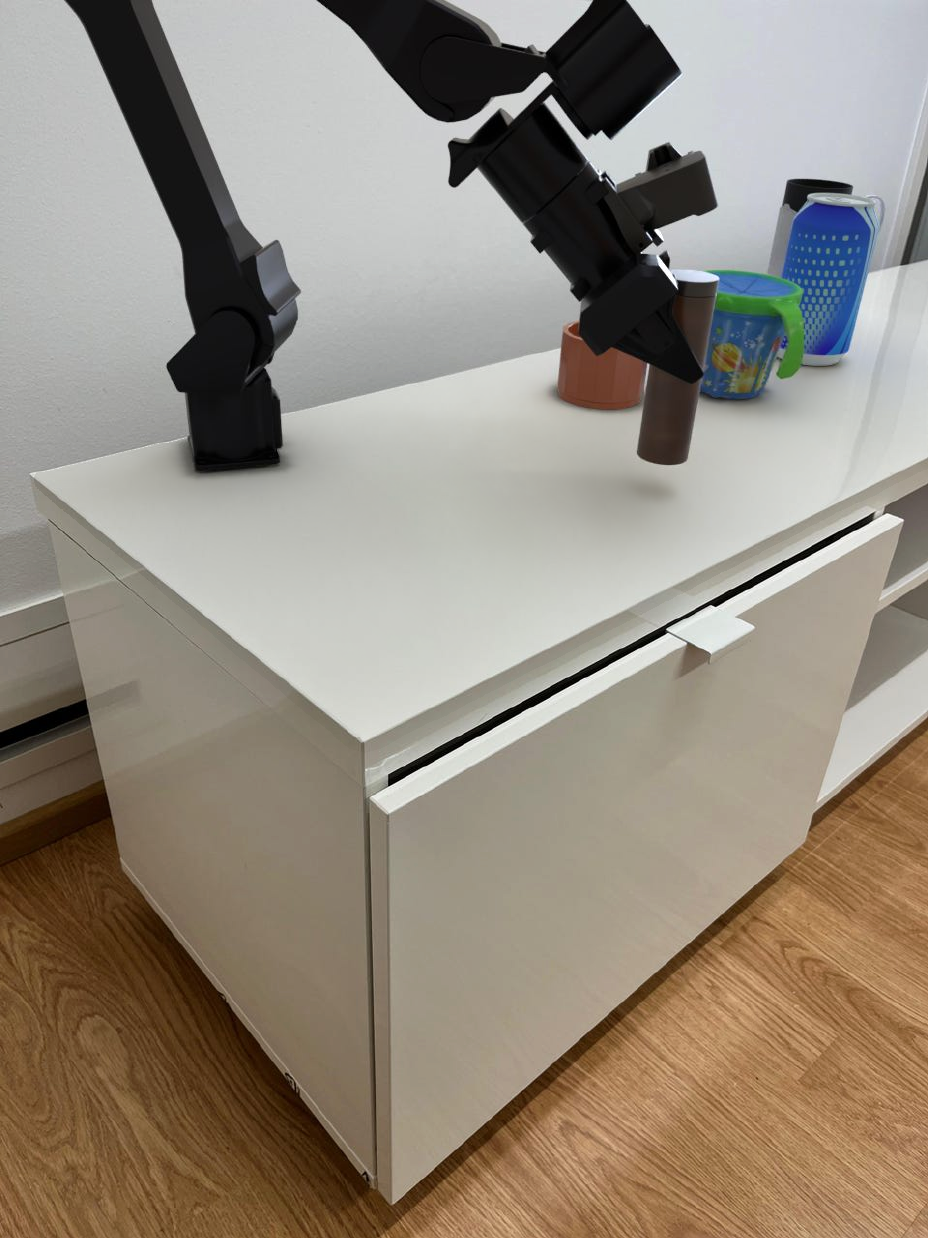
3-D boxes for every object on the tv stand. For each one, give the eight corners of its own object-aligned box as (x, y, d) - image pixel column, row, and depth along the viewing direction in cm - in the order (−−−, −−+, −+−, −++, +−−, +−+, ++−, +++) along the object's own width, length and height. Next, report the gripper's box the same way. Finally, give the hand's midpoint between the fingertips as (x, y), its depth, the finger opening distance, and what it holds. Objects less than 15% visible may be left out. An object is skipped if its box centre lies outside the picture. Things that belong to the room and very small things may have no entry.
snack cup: (820, 410, 92) (847, 299, 86) (727, 422, 88) (749, 306, 82) (721, 361, 104) (740, 261, 98) (636, 369, 100) (650, 265, 95)
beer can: (854, 354, 108) (894, 198, 99) (834, 373, 102) (875, 208, 93) (779, 340, 111) (811, 188, 103) (755, 357, 105) (787, 197, 97)
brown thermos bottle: (651, 467, 71) (680, 283, 64) (627, 448, 74) (652, 269, 67) (697, 463, 72) (730, 281, 65) (672, 444, 75) (701, 268, 68)
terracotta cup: (577, 412, 88) (584, 346, 85) (544, 383, 95) (549, 321, 92) (656, 406, 91) (666, 341, 88) (618, 378, 97) (626, 317, 94)
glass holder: (742, 305, 124) (767, 177, 117) (839, 302, 128) (869, 177, 120) (779, 324, 117) (808, 189, 109) (880, 320, 121) (915, 189, 113)
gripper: (663, 112, 53) (822, 332, 58) (648, 90, 69) (774, 264, 74) (509, 253, 58) (668, 445, 63) (528, 202, 74) (654, 359, 79)
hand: (695, 370), depth 69 cm, fingers closed on brown thermos bottle, 4 cm apart
